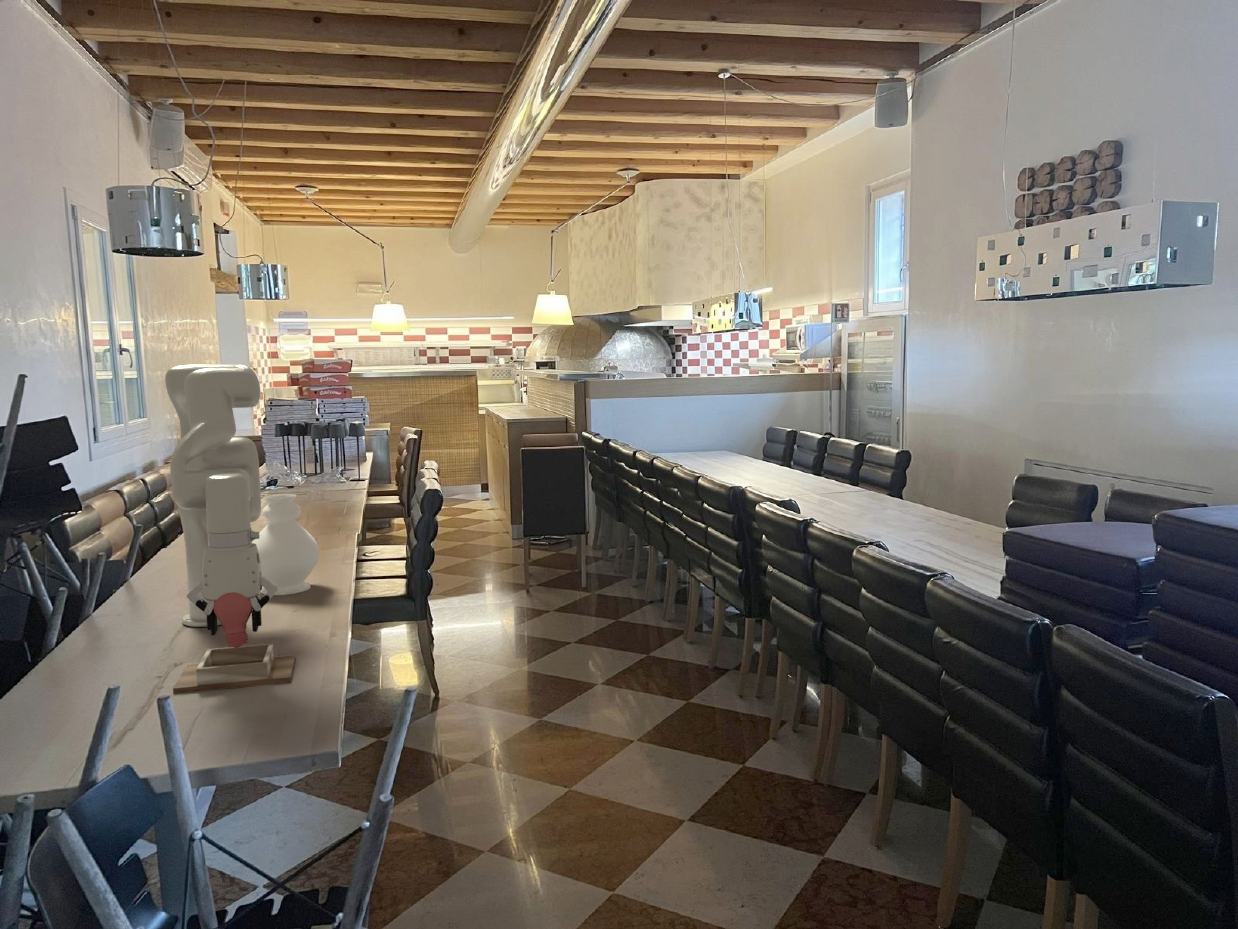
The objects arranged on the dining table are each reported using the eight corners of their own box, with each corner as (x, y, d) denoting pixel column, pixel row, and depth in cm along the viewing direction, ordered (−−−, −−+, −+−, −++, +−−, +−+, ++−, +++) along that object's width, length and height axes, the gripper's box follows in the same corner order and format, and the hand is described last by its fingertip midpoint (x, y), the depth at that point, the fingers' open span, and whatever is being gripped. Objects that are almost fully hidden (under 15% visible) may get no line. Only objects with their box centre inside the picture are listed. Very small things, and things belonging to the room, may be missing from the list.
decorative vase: (319, 578, 246) (315, 489, 243) (322, 594, 229) (318, 498, 226) (250, 584, 239) (245, 493, 236) (248, 601, 223) (243, 503, 220)
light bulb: (209, 647, 169) (206, 586, 167) (247, 639, 174) (244, 579, 172) (224, 656, 164) (220, 592, 162) (262, 647, 168) (259, 585, 167)
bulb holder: (187, 669, 173) (186, 650, 172) (295, 660, 178) (294, 640, 178) (173, 693, 160) (171, 672, 160) (290, 682, 166) (289, 661, 165)
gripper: (280, 533, 172) (285, 622, 174) (183, 538, 167) (189, 630, 169) (276, 540, 165) (281, 633, 167) (175, 546, 160) (181, 641, 162)
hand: (235, 630), depth 168 cm, fingers closed on light bulb, 6 cm apart
